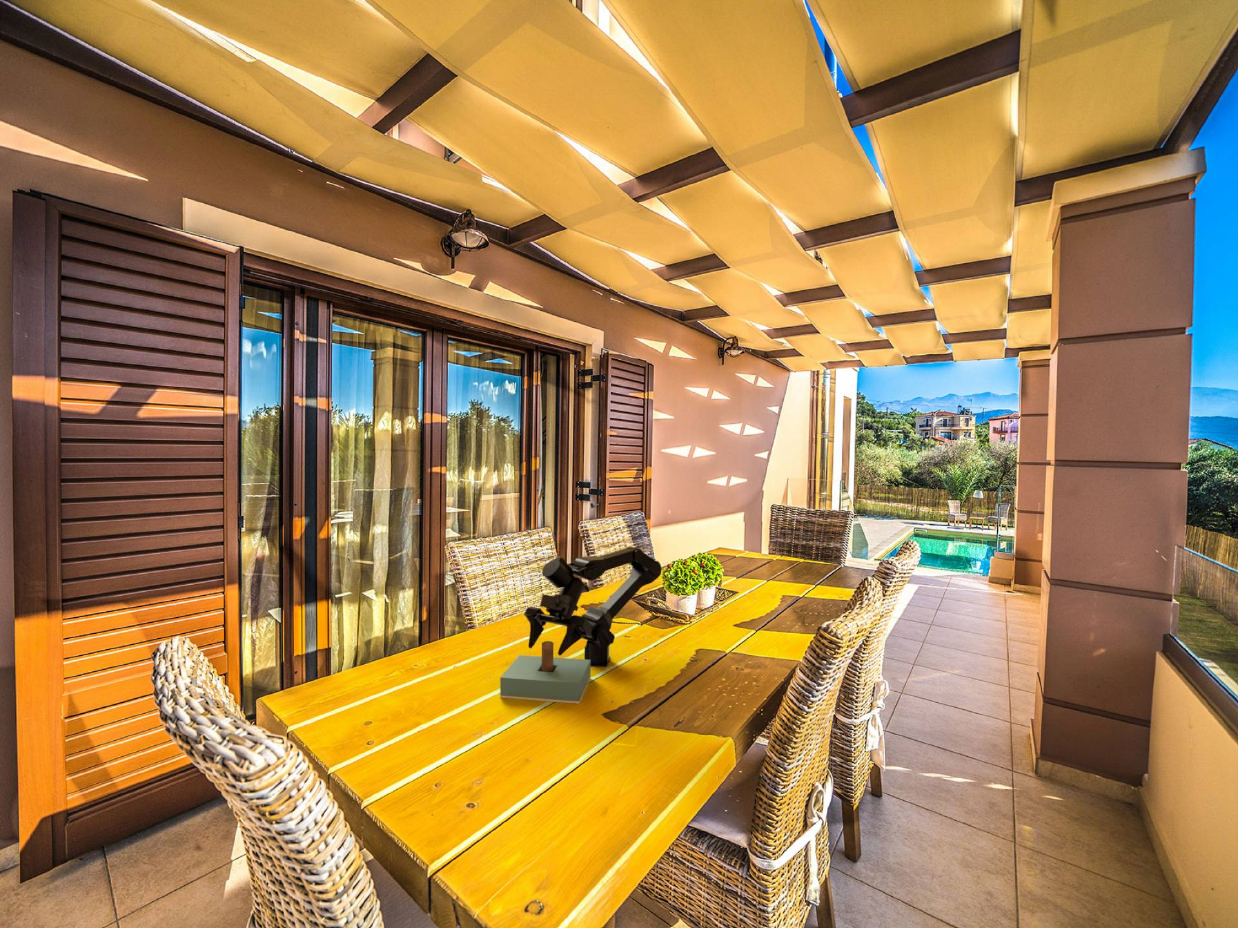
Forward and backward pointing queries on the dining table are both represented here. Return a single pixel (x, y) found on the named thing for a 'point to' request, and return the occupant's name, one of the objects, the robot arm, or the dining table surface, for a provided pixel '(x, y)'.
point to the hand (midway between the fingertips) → (544, 651)
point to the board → (546, 679)
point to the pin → (547, 656)
